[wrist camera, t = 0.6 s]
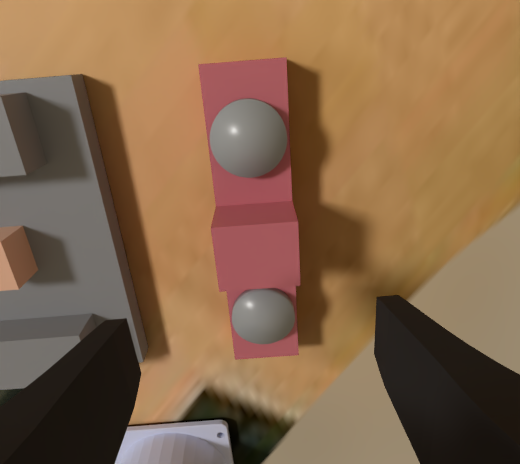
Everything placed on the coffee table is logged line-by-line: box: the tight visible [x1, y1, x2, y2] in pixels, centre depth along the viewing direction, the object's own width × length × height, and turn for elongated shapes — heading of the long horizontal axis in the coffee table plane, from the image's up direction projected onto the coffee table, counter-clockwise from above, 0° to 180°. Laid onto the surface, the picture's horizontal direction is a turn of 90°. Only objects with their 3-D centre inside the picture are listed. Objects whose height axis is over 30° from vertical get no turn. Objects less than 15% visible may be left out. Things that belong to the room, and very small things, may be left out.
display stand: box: [0, 74, 148, 390], centre depth 19 cm, size 15×10×3 cm, turn 4°
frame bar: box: [198, 58, 300, 359], centre depth 18 cm, size 15×4×4 cm, turn 4°
